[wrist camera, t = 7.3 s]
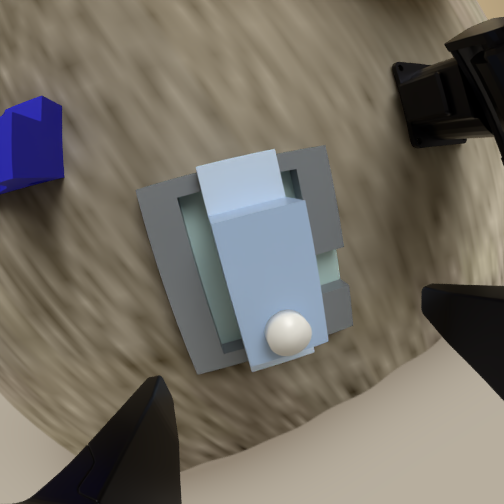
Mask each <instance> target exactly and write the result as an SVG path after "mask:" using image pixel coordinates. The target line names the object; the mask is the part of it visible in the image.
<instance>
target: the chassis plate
mask: <svg viewBox="0 0 504 504" xmlns="http://www.w3.org/2000/svg"><path fill="white" fill-rule="evenodd" d="M276 156H277V161H278V165H279V169H280V174H281V178H282V183H283V187H284V192H285V197H289V198H295V199H300V200H305V202H306V207H307V212H308V217H309V222H310V227H311V233H312V238H313V244H314V249H315V255H316V261H317V267H318V273H319V279H320V285H321V292H322V298H323V305H324V312H325V319H326V326H327V334H328V335H330V334H332V333H335V332H338V331H340V330H343V329H346V328H348V327H351V326H353V319H352V308H351V298H350V289H349V285H348V284H347V283H345V282H344V281H343V280H341V279H340V273H339V266H338V259H337V252H336V249H338V248H341V247H344V243H343V237H342V230H341V224H340V218H339V212H338V206H337V201H336V195H335V190H334V185H333V180H332V175H331V170H330V165H329V160H328V155H327V151H326V146H325V145H323V146H317V147H311V148H306V149H300V150H295V151H289V152H284V153H279V154H276ZM136 194H137V198H138V201H139V205H140V209H141V212H142V216H143V220H144V223H145V227H146V230H147V234H148V237H149V240H150V244H151V247H152V250H153V254H154V257H155V260H156V263H157V266H158V269H159V272H160V275H161V279H162V282H163V284H164V287H165V290H166V293H167V296H168V299H169V302H170V305H171V308H172V310H173V313H174V316H175V319H176V321H177V324H178V327H179V329H180V332H181V335H182V337H183V340H184V342H185V345H186V347H187V350H188V352H189V355H190V357H191V360H192V362H193V365H194V367H195V370H196V372H197V374H202V373H206V372H210V371H214V370H218V369H221V368H225V367H229V366H233V365H236V364H240V363H243V362H247V361H248V358H247V354H246V351H245V348H244V344H243V341H242V338H241V334H240V331H239V328H238V325H237V322H236V318H235V315H234V311H233V308H232V304H231V301H230V297H229V294H228V290H227V286H226V283H225V279H224V276H223V272H222V268H221V265H220V261H219V257H218V254H217V250H216V246H215V242H214V239H213V235H212V231H211V227H210V223H209V220H208V216H207V211H206V207H205V203H204V199H203V195H202V191H201V187H200V183H199V179H198V175H197V173H193V174H189V175H185V176H182V177H178V178H174V179H171V180H167V181H164V182H161V183H157V184H154V185H150V186H147V187H144V188H141V189H137V190H136Z"/></svg>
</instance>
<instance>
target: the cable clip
mask: <svg viewBox="0 0 504 504" xmlns="http://www.w3.org/2000/svg"><path fill="white" fill-rule="evenodd" d="M60 178H64V166H63V148H62V106H61V105H59V104H57V103H55V102H53V101H51V100H49V99H47V98H46V97H44V96H40V97H37V98H34V99H31V100H29V101H26V102H23V103H21V104H18V105H16V106H13V107H11V108H8V109H6V110H5V112H4V114H3V115H2V116H1V117H0V194H4V193H7V192H10V191H14V190H17V189H21V188H24V187H28V186H32V185H36V184H40V183H43V182H47V181H52V180H56V179H60Z"/></svg>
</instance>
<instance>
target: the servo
mask: <svg viewBox="0 0 504 504" xmlns="http://www.w3.org/2000/svg"><path fill="white" fill-rule="evenodd" d="M196 171H197V175H198V179H199V183H200V187H201V191H202V195H203V199H204V203H205V207H206V211H207V216H208V220H209V223H210V227H211V231H212V235H213V239H214V242H215V246H216V250H217V254H218V257H219V261H220V265H221V268H222V272H223V276H224V279H225V283H226V286H227V290H228V294H229V297H230V301H231V304H232V308H233V311H234V315H235V318H236V322H237V325H238V328H239V331H240V334H241V338H242V341H243V344H244V348H245V351H246V354H247V358H248V361H249V364H250V368H251V371H252V372H255V371H258V370H261V369H265V368H268V367H271V366H274V365H278V364H281V363H284V362H287V361H290V360H293V359H296V358H299V357H302V356H305V355H308V354H310V353H313V352H314V346H317V345H320V344H323V343H325V342H328V334H327V326H326V319H325V312H324V305H323V298H322V292H321V285H320V279H319V273H318V267H317V261H316V255H315V249H314V244H313V238H312V233H311V227H310V222H309V217H308V212H307V207H306V202H305V200H300V199H295V198H289V197H285V192H284V187H283V183H282V178H281V174H280V169H279V165H278V161H277V156H276V152H275V149H272V150H267V151H262V152H257V153H252V154H248V155H243V156H239V157H234V158H230V159H226V160H222V161H217V162H213V163H209V164H205V165H201V166H197V167H196Z"/></svg>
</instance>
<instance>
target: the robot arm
mask: <svg viewBox="0 0 504 504" xmlns="http://www.w3.org/2000/svg"><path fill="white" fill-rule="evenodd" d="M444 45H445V46H446V48H447V50H448V51H449V52H451V54H452V55H453V57H454V58H451V59H448V60H445V61H442V62H439V63H436V64H434V65H424V64H416V63H406V62H396V63H394V64H393V66H392V68H393V72H394V75H395V79H396V82H397V85H398V89H399V93H400V96H401V100H402V104H403V108H404V112H405V116H406V121H407V125H408V130H409V134H410V139H411V143H412V145H413V147H415V148H424V147H432V146H442V145H451V144H462V143H466V141H467V138H484V137H494V138H495V140H496V143H497V146H498V148H499V151H500V154H501V156H502V158H501V160H502V162H503V165H504V17H499V18H493V19H490V20H487V21H485V22H482V23H479V24H477V25H475V26H472V27H470V28H468V29H467V30H465V31H463V32H462V33H460V34H459V35H457V36H456V37H454V38H452V39H451V40H449V41H448V42H446V43H445V44H444ZM398 67H399V68H400V70H399V68H398ZM417 139H418V143H417ZM421 308H422V312H423V314H424V316H425V317H426V318H427V319H428V320H429V322H430V323H431V324H432V325H433V326H434V327H435V329H436V330H437V331H438V332H439V333H440V335H441V336H442V337H443V338H444V339H445V340H446V341H447V342H448V343H449V345H450V346H451V347H452V348H453V349H454V350H455V351H457V353H458V354H459V355H460V356H461V357H463V359H464V360H465V361H467V363H468V364H469V365H471V367H472V368H473V369H474V370H475V371H476V372H477V373H478V374H479V375H480V376H481V377H482V378H483V379H484V380H485V381H486V382H487V383H488V384H489V385H490V387H491V388H492V389H493V390H494V391H495V392H496V393H497V394H498V395H499V396H500V397H501V398H502V399H503V400H504V286H486V285H457V284H429V285H427V286H425V287H423V289H422V305H421ZM181 503H182V502H181V486H180V460H179V439H178V432H177V425H176V418H175V411H174V403H173V398H172V396H171V393H170V392H169V390H168V388H167V386H166V384H165V382H164V380H163V378H162V377H161V376H154V377H149V378H147V379H146V381H145V382H144V383H143V384H142V385H141V386H140V387H139V388H138V389H137V390H136V392H135V393H134V394H133V395H132V396H131V397H130V398H129V399H128V400H127V402H126V403H125V404H124V405H123V406H122V407H121V408H120V409H119V410H118V411H117V413H116V414H115V415H114V416H113V417H112V418H111V419H110V420H109V421H108V422H107V424H106V425H105V426H104V427H103V428H102V429H101V430H100V431H99V432H98V433H97V434H96V436H95V437H94V438H93V439H92V440H91V441H90V442H89V443H88V445H86V446H85V448H84V449H83V450H82V451H81V452H80V453H79V454H78V455H77V456H76V457H75V458H74V459H73V460H72V461H71V462H70V463H69V464H68V465H67V466H66V467H65V468H64V469H63V470H62V471H61V472H60V473H59V474H57V475H56V476H55V477H54V478H53V479H52V480H51V481H49V482H48V483H47V484H46V485H45V486H44V487H43V488H41V489H40V490H39V491H38V492H37V493H36V494H34V495H33V496H32V497H31V498H29V499H27V500H25V501H23V502H19V503H14V504H181Z"/></svg>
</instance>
